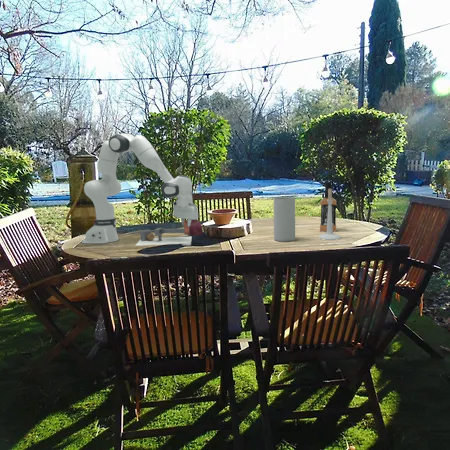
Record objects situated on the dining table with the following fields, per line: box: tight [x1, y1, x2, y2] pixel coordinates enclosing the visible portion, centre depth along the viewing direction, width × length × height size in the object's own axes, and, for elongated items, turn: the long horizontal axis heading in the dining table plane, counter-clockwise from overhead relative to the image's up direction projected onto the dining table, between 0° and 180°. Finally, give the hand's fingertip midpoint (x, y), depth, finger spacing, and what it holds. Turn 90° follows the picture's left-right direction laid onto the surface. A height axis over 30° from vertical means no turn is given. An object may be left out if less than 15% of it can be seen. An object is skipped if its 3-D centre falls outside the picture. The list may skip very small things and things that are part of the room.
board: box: [135, 229, 193, 247], centre depth 238 cm, size 32×21×7 cm, turn 93°
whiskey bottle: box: [319, 181, 337, 232], centre depth 258 cm, size 10×10×32 cm
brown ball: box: [147, 232, 155, 241], centre depth 240 cm, size 4×4×4 cm
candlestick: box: [318, 188, 342, 241], centre depth 234 cm, size 13×13×30 cm
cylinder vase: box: [273, 196, 296, 243], centre depth 234 cm, size 12×12×25 cm
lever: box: [153, 220, 189, 237], centre depth 237 cm, size 20×7×8 cm, turn 81°
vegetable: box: [187, 219, 204, 236], centre depth 262 cm, size 10×10×15 cm
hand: (186, 225), depth 236 cm, fingers open, 3 cm apart
